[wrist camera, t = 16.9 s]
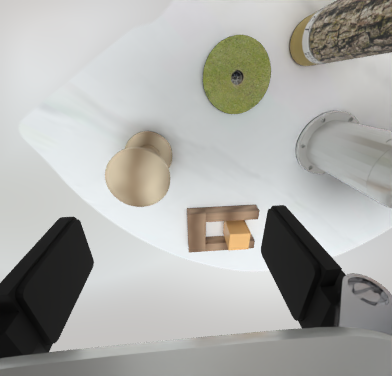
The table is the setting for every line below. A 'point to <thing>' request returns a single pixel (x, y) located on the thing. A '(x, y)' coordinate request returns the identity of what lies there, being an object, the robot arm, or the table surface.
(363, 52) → the bark-textured cylinder
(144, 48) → the table surface
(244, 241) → the orange-brown rectangular block
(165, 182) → the disc
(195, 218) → the notched board
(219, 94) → the mat
